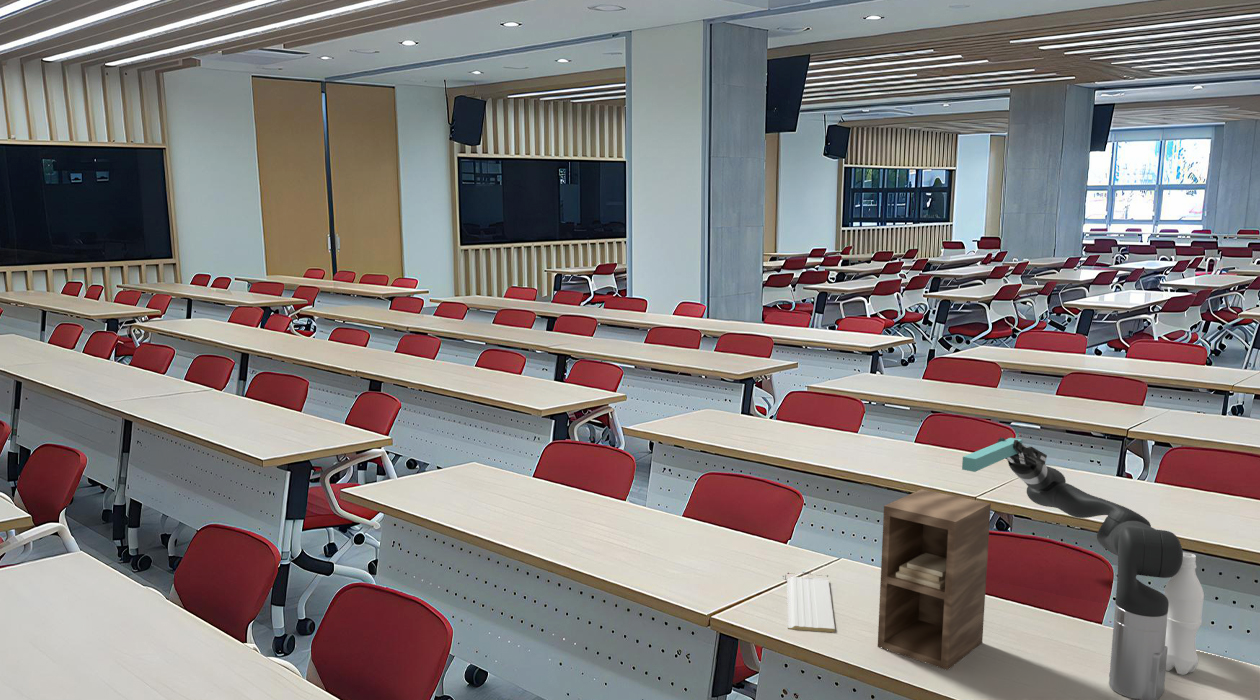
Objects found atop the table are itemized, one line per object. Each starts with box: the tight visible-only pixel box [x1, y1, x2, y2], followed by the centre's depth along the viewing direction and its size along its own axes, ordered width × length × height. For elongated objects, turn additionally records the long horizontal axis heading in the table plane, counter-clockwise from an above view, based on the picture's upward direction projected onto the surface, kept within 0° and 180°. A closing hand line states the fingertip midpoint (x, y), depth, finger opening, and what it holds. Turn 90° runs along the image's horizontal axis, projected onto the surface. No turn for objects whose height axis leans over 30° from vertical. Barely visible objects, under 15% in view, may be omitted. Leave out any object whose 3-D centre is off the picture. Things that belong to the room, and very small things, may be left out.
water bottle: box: [1163, 551, 1205, 675], centre depth 197 cm, size 7×7×25 cm
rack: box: [877, 488, 992, 671], centre depth 207 cm, size 16×18×32 cm
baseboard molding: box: [782, 571, 836, 633], centre depth 231 cm, size 31×3×12 cm
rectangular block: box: [961, 437, 1023, 473], centre depth 226 cm, size 3×28×3 cm, turn 137°
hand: (1007, 442), depth 232 cm, fingers closed on rectangular block, 3 cm apart
